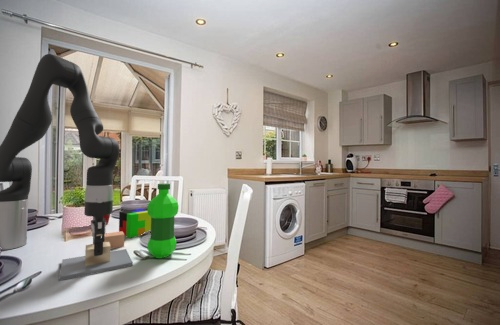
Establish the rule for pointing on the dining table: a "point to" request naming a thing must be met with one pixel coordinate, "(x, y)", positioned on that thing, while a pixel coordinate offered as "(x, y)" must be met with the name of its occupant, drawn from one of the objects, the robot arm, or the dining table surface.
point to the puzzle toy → (134, 222)
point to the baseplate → (78, 268)
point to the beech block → (92, 259)
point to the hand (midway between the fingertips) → (97, 250)
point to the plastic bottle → (162, 223)
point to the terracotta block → (115, 239)
